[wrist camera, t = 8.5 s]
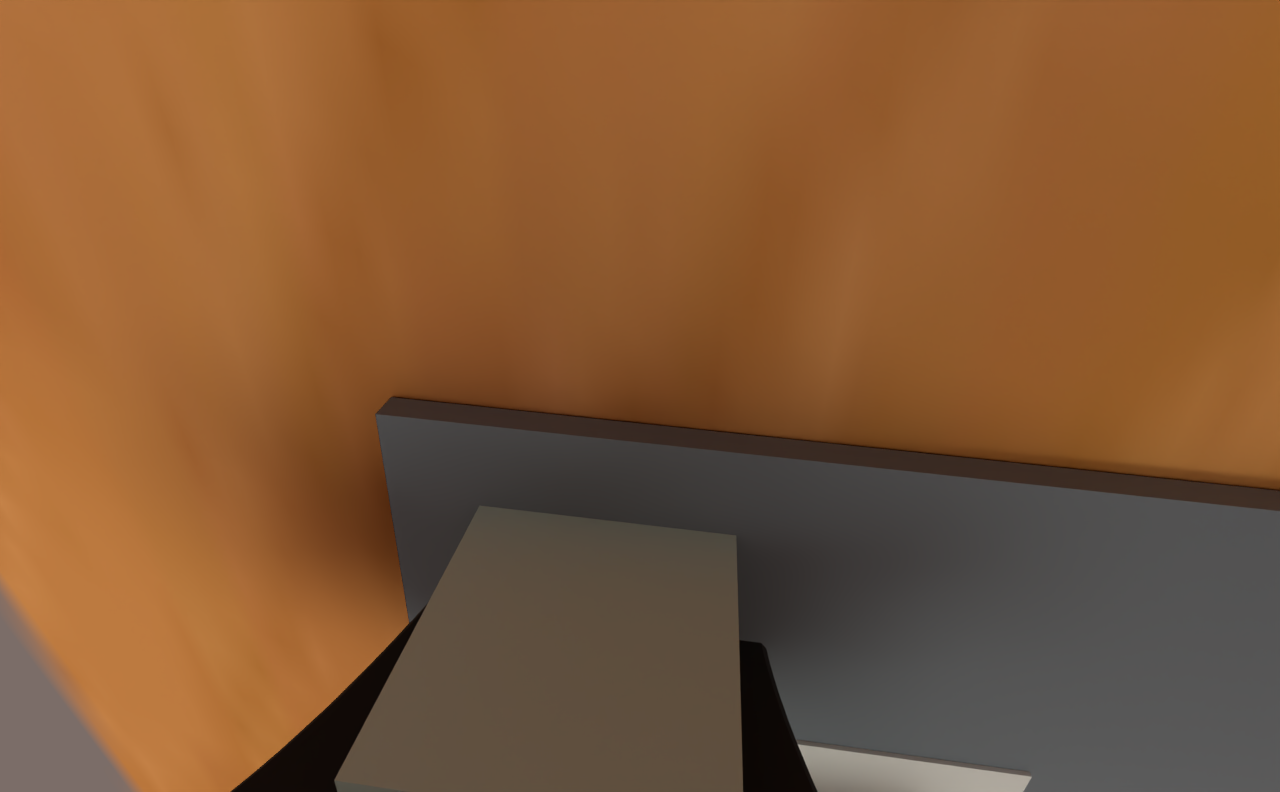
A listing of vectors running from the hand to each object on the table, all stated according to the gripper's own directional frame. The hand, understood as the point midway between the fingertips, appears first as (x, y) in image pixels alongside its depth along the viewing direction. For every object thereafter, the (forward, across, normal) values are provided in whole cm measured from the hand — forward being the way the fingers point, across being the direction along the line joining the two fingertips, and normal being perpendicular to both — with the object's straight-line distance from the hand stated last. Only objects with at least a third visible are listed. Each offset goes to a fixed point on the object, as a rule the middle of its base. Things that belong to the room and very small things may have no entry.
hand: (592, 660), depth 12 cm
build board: (+2, -5, +4) cm, 6 cm away
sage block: (+1, 0, 0) cm, 1 cm away
